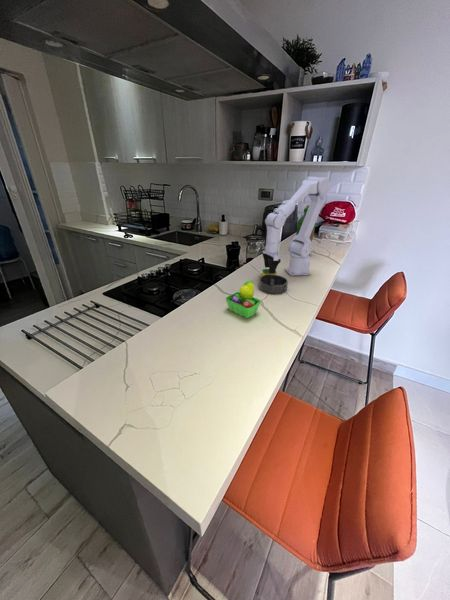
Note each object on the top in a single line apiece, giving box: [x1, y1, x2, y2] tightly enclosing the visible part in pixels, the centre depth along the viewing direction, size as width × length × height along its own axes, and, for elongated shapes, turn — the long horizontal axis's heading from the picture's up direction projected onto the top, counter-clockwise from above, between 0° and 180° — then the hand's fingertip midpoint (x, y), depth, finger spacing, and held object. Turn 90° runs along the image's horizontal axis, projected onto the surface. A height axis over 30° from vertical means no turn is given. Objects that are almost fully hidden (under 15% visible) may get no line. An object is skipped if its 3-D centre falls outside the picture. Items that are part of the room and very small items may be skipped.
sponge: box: [261, 268, 277, 277], centre depth 121 cm, size 4×6×4 cm
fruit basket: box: [225, 280, 262, 319], centre depth 93 cm, size 11×9×11 cm
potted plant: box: [295, 204, 317, 243], centre depth 149 cm, size 11×11×28 cm
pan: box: [258, 274, 289, 295], centre depth 113 cm, size 12×12×4 cm
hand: (269, 270), depth 120 cm, fingers open, 7 cm apart
